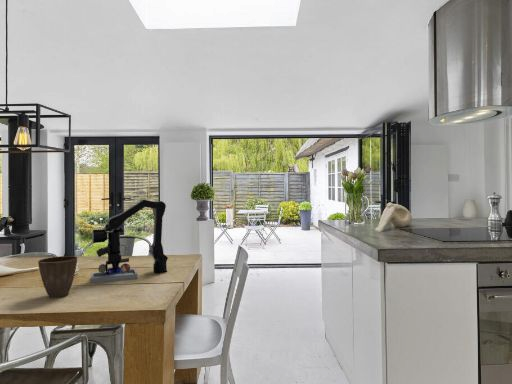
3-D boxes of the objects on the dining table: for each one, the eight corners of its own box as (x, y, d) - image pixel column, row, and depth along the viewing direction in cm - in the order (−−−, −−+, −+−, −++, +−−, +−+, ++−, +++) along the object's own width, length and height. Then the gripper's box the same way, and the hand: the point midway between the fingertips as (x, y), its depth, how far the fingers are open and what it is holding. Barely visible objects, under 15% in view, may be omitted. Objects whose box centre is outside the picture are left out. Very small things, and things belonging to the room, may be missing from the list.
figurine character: (99, 279, 170) (131, 273, 175) (97, 265, 169) (129, 258, 175) (100, 276, 176) (130, 270, 182) (98, 262, 176) (128, 256, 181)
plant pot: (41, 293, 151) (41, 257, 151) (79, 288, 157) (78, 254, 157) (35, 303, 137) (34, 263, 137) (76, 297, 143) (76, 260, 143)
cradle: (135, 273, 186) (135, 268, 186) (137, 278, 174) (137, 273, 174) (91, 277, 177) (91, 273, 177) (90, 283, 165) (90, 279, 165)
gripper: (97, 240, 181) (98, 269, 181) (96, 244, 164) (97, 276, 164) (119, 238, 185) (120, 266, 185) (121, 243, 168) (121, 274, 168)
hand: (114, 270), depth 175 cm, fingers closed on figurine character, 7 cm apart
